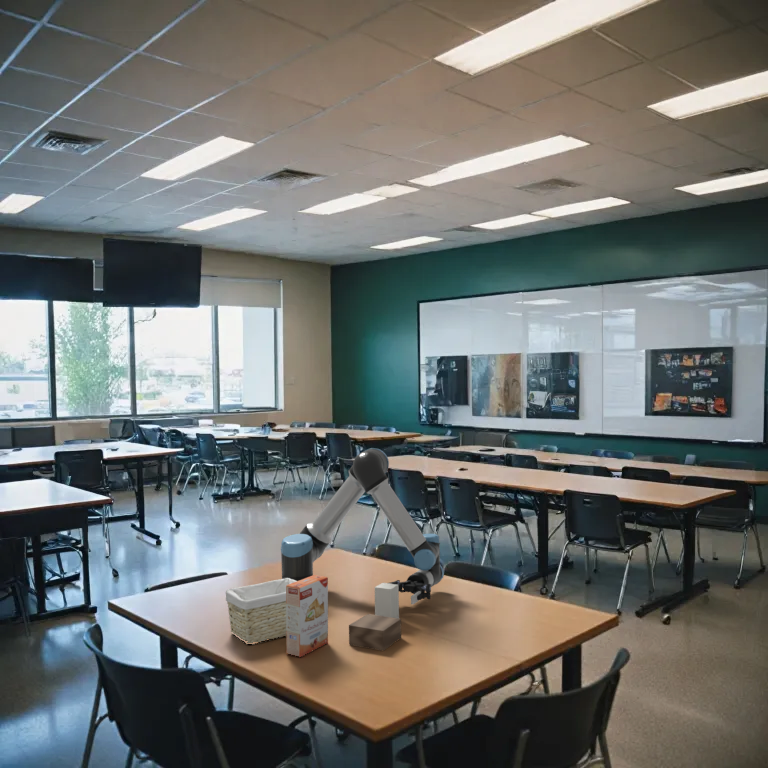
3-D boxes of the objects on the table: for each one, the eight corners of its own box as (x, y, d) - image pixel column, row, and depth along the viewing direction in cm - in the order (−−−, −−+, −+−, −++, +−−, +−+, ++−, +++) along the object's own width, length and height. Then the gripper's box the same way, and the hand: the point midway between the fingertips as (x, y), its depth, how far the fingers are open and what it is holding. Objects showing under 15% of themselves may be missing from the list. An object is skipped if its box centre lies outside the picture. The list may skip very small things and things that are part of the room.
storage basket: (244, 648, 217) (243, 600, 217) (224, 634, 231) (223, 588, 231) (313, 632, 231) (312, 586, 231) (290, 619, 244) (289, 576, 244)
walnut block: (349, 644, 219) (348, 625, 219) (368, 632, 229) (367, 613, 229) (383, 650, 213) (383, 630, 213) (401, 637, 224) (400, 618, 224)
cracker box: (301, 658, 208) (300, 587, 208) (285, 654, 211) (284, 584, 211) (329, 643, 220) (328, 576, 220) (314, 640, 223) (313, 573, 223)
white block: (375, 622, 239) (374, 587, 239) (383, 617, 244) (382, 582, 244) (390, 625, 236) (390, 589, 236) (399, 619, 241) (398, 584, 241)
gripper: (451, 596, 256) (427, 613, 237) (389, 588, 268) (362, 604, 249) (450, 575, 256) (427, 591, 237) (389, 568, 268) (362, 582, 249)
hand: (393, 597), depth 243 cm, fingers open, 13 cm apart
